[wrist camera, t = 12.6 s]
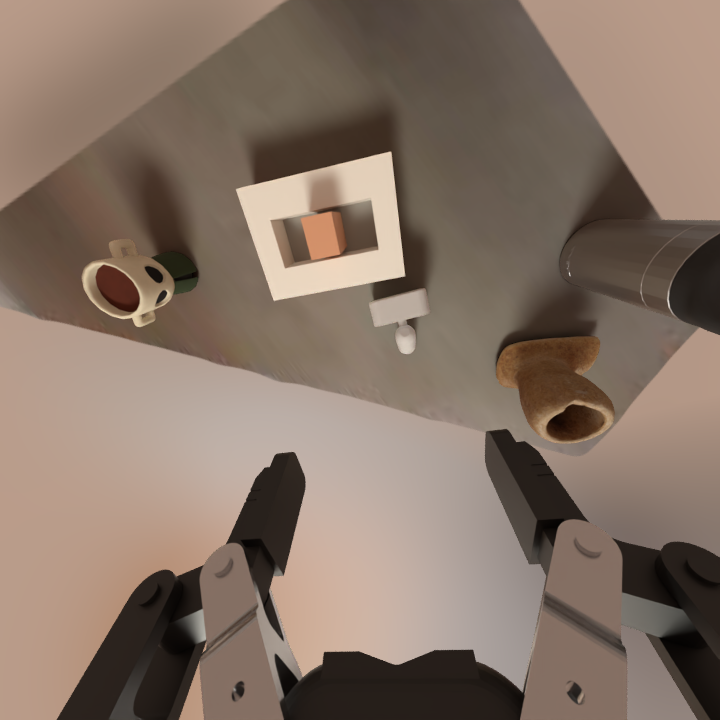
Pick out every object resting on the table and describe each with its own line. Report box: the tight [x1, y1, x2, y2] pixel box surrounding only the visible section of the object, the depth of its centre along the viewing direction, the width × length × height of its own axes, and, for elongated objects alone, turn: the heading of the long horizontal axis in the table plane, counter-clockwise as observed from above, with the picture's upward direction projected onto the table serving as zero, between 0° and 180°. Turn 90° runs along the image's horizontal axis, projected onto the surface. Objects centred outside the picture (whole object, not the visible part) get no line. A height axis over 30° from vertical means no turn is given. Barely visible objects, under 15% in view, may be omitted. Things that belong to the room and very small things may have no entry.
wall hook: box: [369, 288, 430, 354], centre depth 43 cm, size 8×10×10 cm
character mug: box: [82, 239, 198, 327], centre depth 38 cm, size 11×7×13 cm, turn 175°
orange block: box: [301, 211, 347, 260], centre depth 35 cm, size 4×4×10 cm
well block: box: [236, 152, 405, 301], centre depth 38 cm, size 19×14×6 cm
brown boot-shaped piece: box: [496, 336, 615, 443], centre depth 43 cm, size 15×12×15 cm
